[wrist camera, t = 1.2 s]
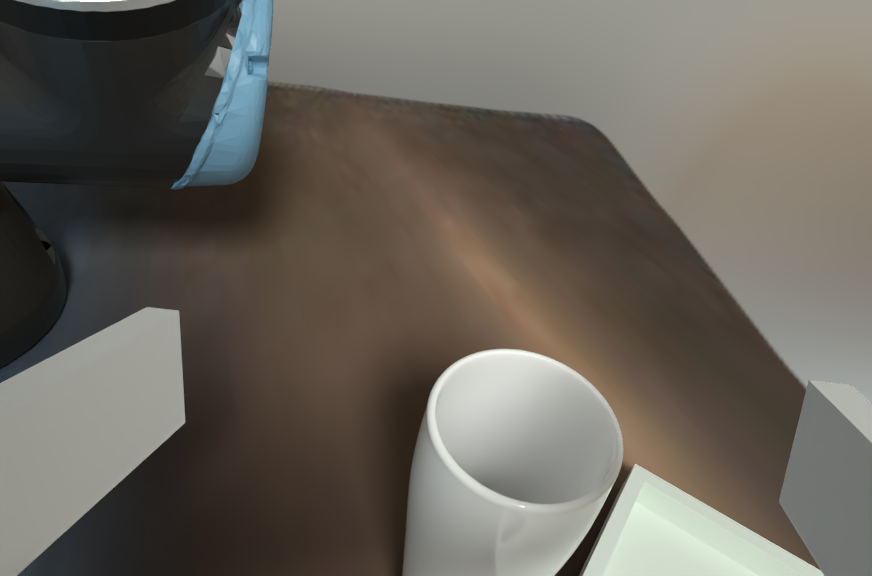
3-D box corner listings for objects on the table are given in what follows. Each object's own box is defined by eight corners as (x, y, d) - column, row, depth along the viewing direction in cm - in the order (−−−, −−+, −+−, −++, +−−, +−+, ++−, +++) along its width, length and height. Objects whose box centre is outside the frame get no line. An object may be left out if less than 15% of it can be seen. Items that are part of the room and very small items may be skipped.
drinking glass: (404, 527, 34) (453, 323, 24) (529, 570, 33) (631, 377, 23) (359, 661, 28) (397, 470, 19) (505, 715, 28) (623, 546, 18)
